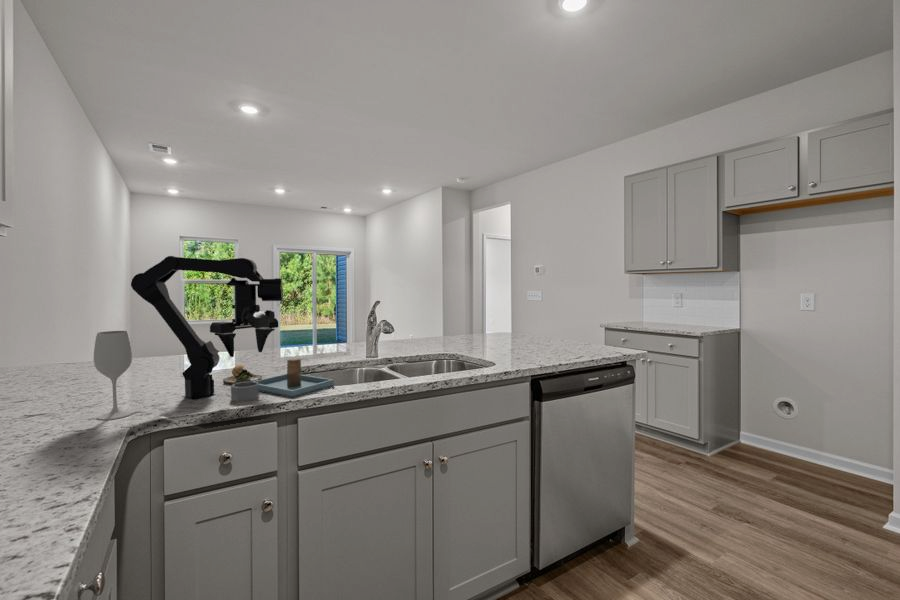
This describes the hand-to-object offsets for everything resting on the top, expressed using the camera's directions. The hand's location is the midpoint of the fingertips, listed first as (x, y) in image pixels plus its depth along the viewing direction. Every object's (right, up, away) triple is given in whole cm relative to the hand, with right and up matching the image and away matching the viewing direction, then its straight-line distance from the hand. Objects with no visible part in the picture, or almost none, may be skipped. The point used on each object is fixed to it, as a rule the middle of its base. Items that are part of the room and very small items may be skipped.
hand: (246, 354), depth 130 cm
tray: (+11, -12, +7) cm, 17 cm away
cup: (+2, -12, -5) cm, 14 cm away
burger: (-8, -12, +16) cm, 21 cm away
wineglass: (-24, -13, -19) cm, 33 cm away
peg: (+11, -11, +8) cm, 17 cm away
